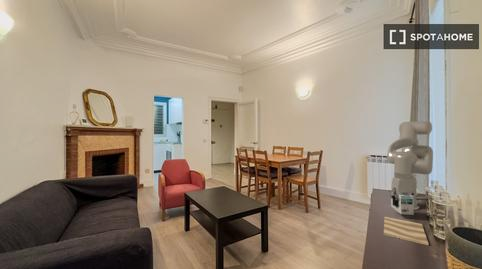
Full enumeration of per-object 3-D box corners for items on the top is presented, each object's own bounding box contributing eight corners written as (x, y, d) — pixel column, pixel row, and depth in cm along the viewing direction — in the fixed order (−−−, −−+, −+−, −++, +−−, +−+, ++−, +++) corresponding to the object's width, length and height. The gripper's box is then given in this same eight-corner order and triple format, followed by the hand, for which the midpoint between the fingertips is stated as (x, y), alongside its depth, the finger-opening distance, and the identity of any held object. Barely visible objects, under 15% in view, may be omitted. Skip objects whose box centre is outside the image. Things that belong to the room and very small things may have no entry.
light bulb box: (414, 215, 116) (414, 196, 115) (400, 214, 117) (400, 195, 117) (402, 206, 127) (403, 189, 126) (390, 206, 128) (390, 189, 127)
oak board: (384, 218, 118) (384, 216, 118) (421, 225, 109) (421, 224, 109) (383, 234, 100) (383, 232, 100) (428, 245, 91) (428, 243, 91)
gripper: (408, 172, 126) (408, 201, 127) (383, 175, 123) (383, 204, 124) (421, 176, 118) (421, 206, 119) (395, 178, 115) (394, 209, 116)
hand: (401, 205), depth 122 cm, fingers closed on light bulb box, 8 cm apart
